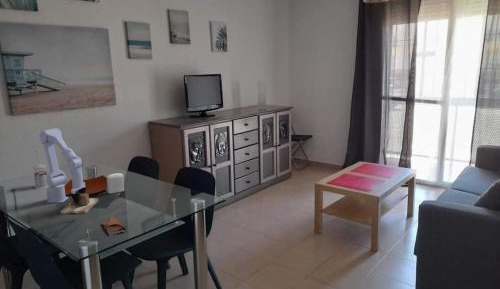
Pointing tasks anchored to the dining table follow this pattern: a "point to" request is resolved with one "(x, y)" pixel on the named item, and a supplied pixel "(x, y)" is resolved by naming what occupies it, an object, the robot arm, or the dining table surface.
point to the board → (79, 207)
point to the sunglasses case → (113, 224)
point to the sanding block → (81, 200)
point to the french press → (40, 176)
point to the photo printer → (115, 183)
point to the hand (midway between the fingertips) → (79, 201)
